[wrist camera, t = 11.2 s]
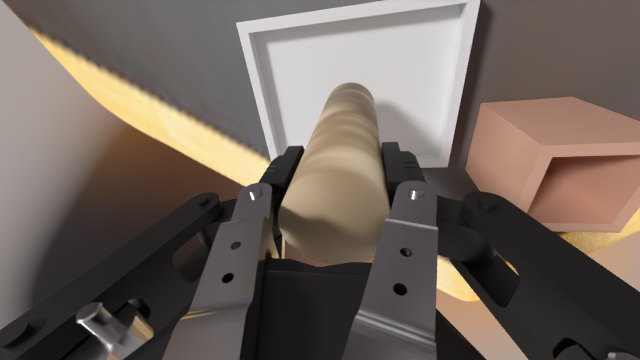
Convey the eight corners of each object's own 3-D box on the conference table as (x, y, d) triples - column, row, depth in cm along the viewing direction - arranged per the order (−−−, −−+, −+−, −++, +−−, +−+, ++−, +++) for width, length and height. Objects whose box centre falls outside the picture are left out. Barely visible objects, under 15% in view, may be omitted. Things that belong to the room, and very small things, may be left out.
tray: (472, -11, 18) (483, -15, 16) (442, 157, 25) (447, 167, 24) (246, 22, 21) (236, 22, 19) (279, 162, 29) (273, 171, 27)
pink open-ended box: (572, 96, 20) (691, 140, 13) (540, 167, 24) (619, 232, 17) (481, 102, 22) (542, 145, 14) (465, 169, 26) (506, 230, 18)
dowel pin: (375, 80, 18) (396, 179, 7) (374, 129, 21) (389, 267, 9) (323, 84, 19) (266, 181, 8) (328, 131, 21) (289, 262, 10)
